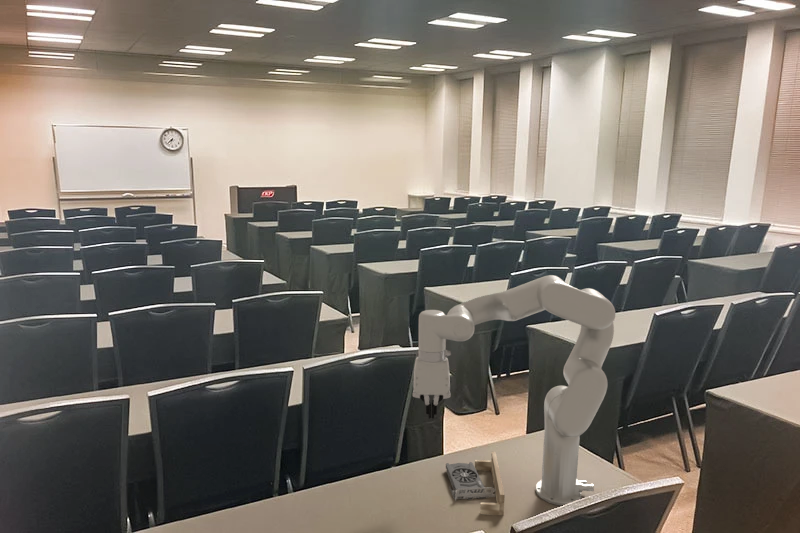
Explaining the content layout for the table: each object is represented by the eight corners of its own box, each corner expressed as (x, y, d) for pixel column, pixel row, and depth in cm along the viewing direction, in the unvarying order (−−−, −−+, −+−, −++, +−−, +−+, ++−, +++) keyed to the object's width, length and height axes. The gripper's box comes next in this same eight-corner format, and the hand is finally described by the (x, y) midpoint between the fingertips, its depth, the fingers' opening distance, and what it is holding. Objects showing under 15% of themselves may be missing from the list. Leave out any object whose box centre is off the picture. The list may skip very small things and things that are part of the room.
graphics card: (497, 489, 158) (455, 491, 157) (496, 501, 159) (454, 503, 158) (481, 459, 175) (443, 460, 173) (480, 470, 176) (442, 471, 174)
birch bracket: (494, 469, 174) (495, 451, 173) (503, 515, 152) (504, 494, 150) (474, 468, 174) (475, 450, 173) (480, 514, 152) (481, 493, 151)
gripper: (458, 350, 160) (457, 411, 164) (405, 349, 161) (405, 410, 164) (459, 359, 153) (458, 423, 156) (404, 358, 154) (404, 421, 157)
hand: (431, 416), depth 160 cm, fingers closed
